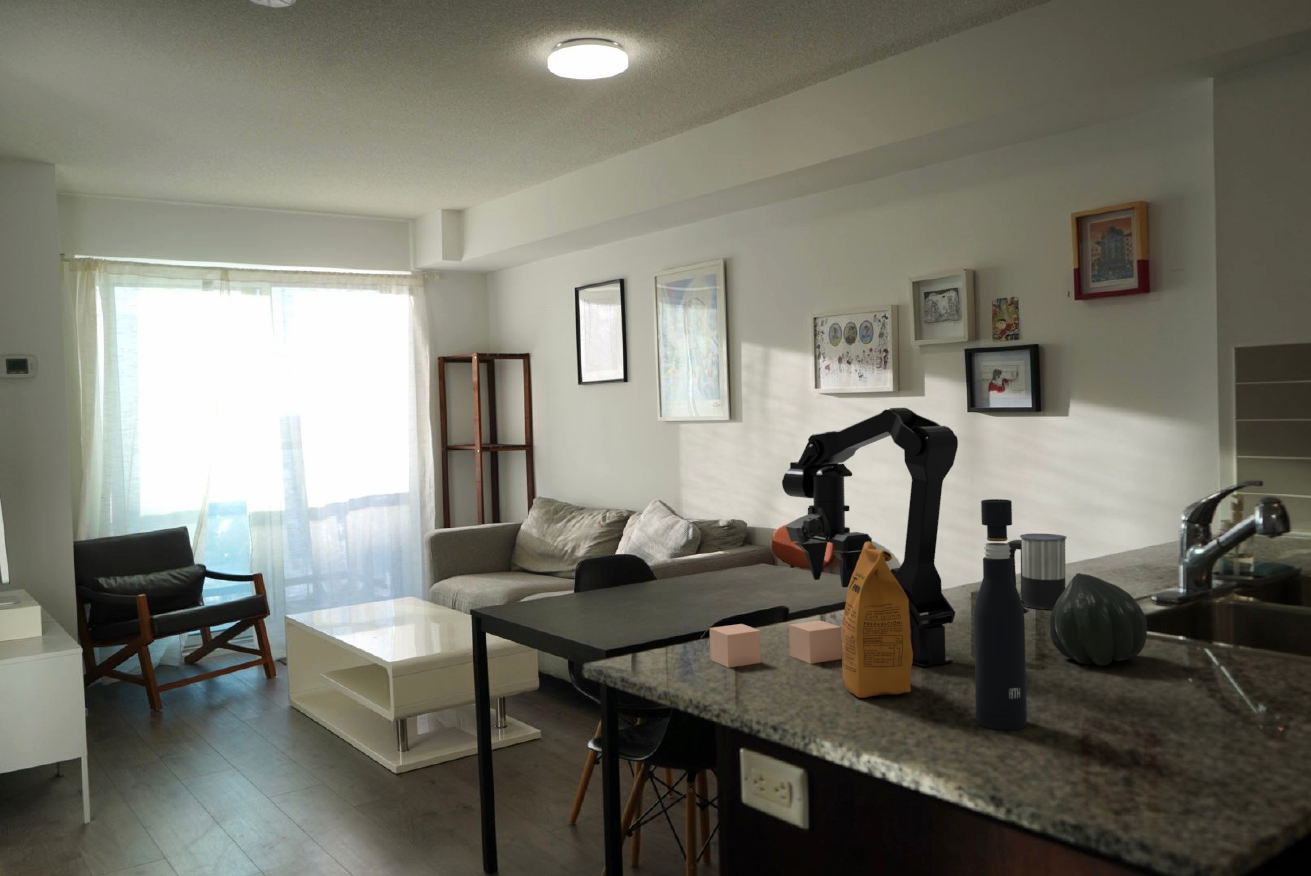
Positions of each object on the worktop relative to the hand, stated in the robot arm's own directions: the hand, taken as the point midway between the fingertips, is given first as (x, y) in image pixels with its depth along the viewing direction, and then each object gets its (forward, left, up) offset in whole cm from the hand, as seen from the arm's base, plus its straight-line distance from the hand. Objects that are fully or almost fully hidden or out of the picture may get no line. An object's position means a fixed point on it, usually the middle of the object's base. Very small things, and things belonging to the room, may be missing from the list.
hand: (830, 583), depth 188 cm
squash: (-37, -27, -10) cm, 47 cm away
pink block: (-6, +24, -10) cm, 27 cm away
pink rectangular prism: (-11, +11, -10) cm, 19 cm away
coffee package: (-32, +14, -10) cm, 36 cm away
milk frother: (+1, -50, -11) cm, 51 cm away
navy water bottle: (-54, +10, -10) cm, 56 cm away
